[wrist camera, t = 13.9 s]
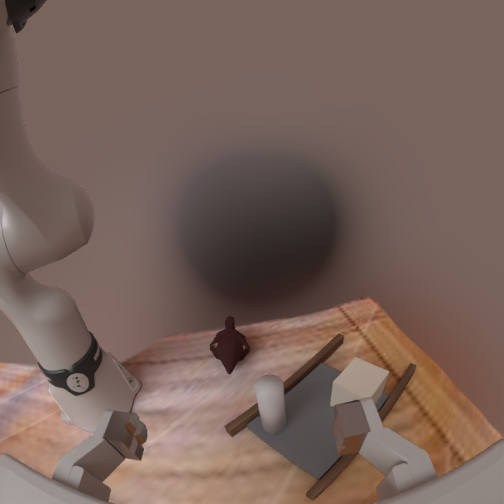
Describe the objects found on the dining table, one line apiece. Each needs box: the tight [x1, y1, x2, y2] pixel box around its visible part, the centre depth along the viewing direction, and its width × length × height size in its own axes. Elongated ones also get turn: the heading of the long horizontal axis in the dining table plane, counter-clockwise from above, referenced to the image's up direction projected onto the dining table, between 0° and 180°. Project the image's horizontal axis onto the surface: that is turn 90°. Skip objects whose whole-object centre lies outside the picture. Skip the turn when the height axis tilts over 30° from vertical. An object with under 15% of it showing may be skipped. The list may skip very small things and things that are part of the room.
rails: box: [225, 334, 416, 500], centre depth 36 cm, size 17×28×2 cm, turn 132°
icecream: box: [210, 316, 250, 374], centre depth 49 cm, size 7×7×15 cm
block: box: [330, 357, 389, 407], centre depth 34 cm, size 6×6×6 cm
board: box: [247, 363, 389, 480], centre depth 32 cm, size 14×18×11 cm
